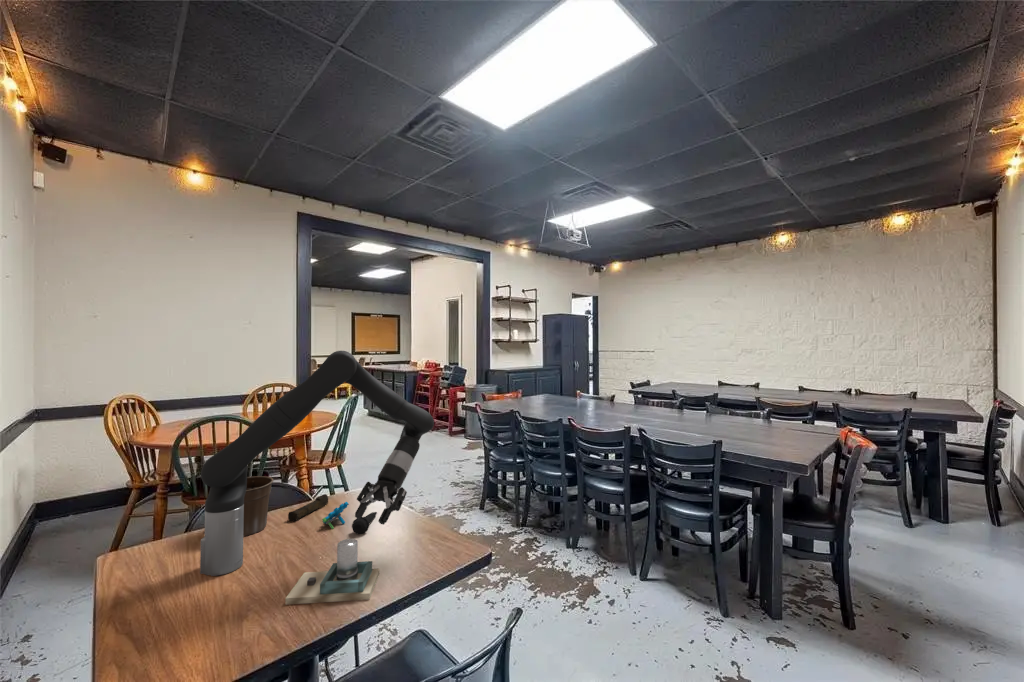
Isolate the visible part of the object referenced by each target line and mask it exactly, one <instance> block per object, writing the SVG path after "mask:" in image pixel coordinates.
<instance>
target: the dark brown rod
mask: <svg viewBox="0 0 1024 682" xmlns="http://www.w3.org/2000/svg"><path fill="white" fill-rule="evenodd" d="M328 504H329V496H328V494H326V493H325V494H321V495H319V496H317V497H315V500H313V501H312V502H309V503H307V504H304V505H303V506H300V507H299V508H296V509H295V510H292V511H289V512H288V514H287V516H288V517H287V519H288V521H289V522H291V523H292V522H293V523H294V522H295V523H296V522H297V521H299V520H300V519H301V518H303V517H304V516H306V515H309V514H311V513H313V512H314V511H316V510H321V509H323V508H325V507H326V506H328ZM325 505H326V506H325Z"/></svg>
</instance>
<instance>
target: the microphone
mask: <svg viewBox="0 0 1024 682" xmlns="http://www.w3.org/2000/svg"><path fill="white" fill-rule="evenodd" d="M377 514H378V513H377V511H373V512H370V513H369V514H367V515H365V516H362V518H361V519H357V518H356V519H354V520H353V521H352V524H351V529H352V532H353V533H354V534H356V535H363V534H365V533H366V532H367V531H368V530H369V528H370V524H371V523H372V522H373V520H375V519H376V515H377Z"/></svg>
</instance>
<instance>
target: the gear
mask: <svg viewBox="0 0 1024 682" xmlns="http://www.w3.org/2000/svg"><path fill="white" fill-rule="evenodd" d="M349 505H350V503H349V502H347V501H345V502H342V503H341V504H340V505H339V507H337V506H336V507H335V508H334V509H333V511H331V512H329V513H328V514H327V516H325V517H323V518H322V519H321V520H322V523H323V524H326V525H328V526H329V527H330V528H331V530H332V529H334V526H333V524H332V523H333V522H334V521H335V520H337V519H338V520H339V521H340V522H341V524H342V525H344V524H346V521H345V520H344V519H343V517H342V515H341V513H343V512H344V510H346V509H347V508H348V506H349Z"/></svg>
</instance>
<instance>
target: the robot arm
mask: <svg viewBox="0 0 1024 682" xmlns="http://www.w3.org/2000/svg"><path fill="white" fill-rule="evenodd" d="M344 383H345V384H348V385H350V386H351V387H354V388H355V389H356V390H357V391H359V392H360V393H361V394H363V395H364V396H365V397H366V398H367V399H368V400H369V401H370V402H371V403H372V404H373V405H375V406H376V407H377V408H378V409H380V411H382V412H384V413H385V414H386V415H388V416H389V417H390V418H392V419H393V420H395V421H404V422H405V423H404V426H403V427H402V431H401V434H400V437H399V439H398V441H397V442H396V445H395V447H394V449H393V450H392V452H391V453H390V454H389V456H388V457H387V459H386V461H385V463H384V465H383V467H382V468H381V470H380V472H379V474H378V476H377V480H376V482H375V483H371V482H370V481H367V482H366V483H365V485H364V486H363V488H362V489H361V491H360V492H359V494H358V495H357V497H356V501H358V503H359V505H358V507H357V509H356V510H355V513H354V514H355V515H354V517H355V518H356V519H361V518H362V517H364V514H365V512H366V510H367V508H368V506H370V505H371V504H374V503H376V502H383V503H385V508H384V509H383V511H382V513H381V514H380V516H379V519H378V520H377V521H378V523H379V524H380V525H385V523H387V522H388V520H389V518H390V516H391V514H392V513H393V512H394V511H396V512H399V511H400V509H401V507H402V505H403V503H404V500H405V498H406V496H407V493H408V492H407V490H406V489H405V488H404V487H402V486H403V484H404V482H405V480H406V477H407V476H408V474H409V472H410V470H411V467H412V464H413V463H414V460H415V458H416V456H417V454H418V452H419V450H420V447H421V446H420V440H421V438H422V436H423V435H425V434H427V433H429V432H431V430H432V429H434V426H435V421H434V418H433V416H432V415H431V413H430V412H428V411H427V410H425V409H424V408H422V407H421V406H418V405H415V404H413V403H412V402H408V401H407V399H404V398H403V397H402V396H401V395H399V394H398V393H397V392H396V391H394V390H393V389H391V388H390V387H388V386H387V385H386V384H384V383H383V382H381V381H380V380H378V379H377V378H376V377H375V376H373V375H372V374H371V373H370V372H369V371H367V370H366V369H365V368H364V367H363V366H362V365H361V363H359V361H358V360H357V359H356V357H354V355H353V354H352V353H351V352H349V351H346V350H336V351H333V352H332V353H331V354H329V355H328V356H327V357H326V358H325V360H324V361H323V363H321V364H320V366H319V367H318V368H317V369H316V370H315V371H314V372H313V373H312V374H311V375H310V376H308V378H307V379H306V380H304V381H303V382H301V383H299V385H297V386H295V387H294V388H292V389H290V391H288V392H286V393H285V394H283V395H282V396H280V397H279V398H278V399H277V400H276V401H275V402H274V403H273V404H271V405H270V406H268V408H266V410H265V411H263V412H262V414H260V415H259V416H258V417H257V418H256V419H255V420H254V421H253V422H252V423H251V424H249V426H248V427H247V428H246V429H245V430H244V431H243V432H242V433H241V434H240V435H239V436H238V437H237V438H236V439H234V441H231V443H230V444H228V445H227V446H225V447H224V448H223V449H221V450H219V452H217V453H214V454H213V455H211V456H210V457H209V458H208V459H207V460H206V461H205V462H204V464H203V465H202V468H201V472H200V478H201V481H202V482H203V484H205V485H206V486H207V487H210V488H209V492H208V495H207V497H206V500H205V501H204V502H205V503H204V536H203V537H202V538H201V539H200V551H199V552H200V558H199V565H200V566H199V567H200V568H199V574H200V575H201V574H204V575H205V576H208V575H211V577H213V576H215V577H216V576H223V575H226V574H229V573H232V572H234V571H236V570H238V569H240V567H242V566H243V564H244V536H243V528H244V496H245V493H246V487H247V477H248V465H249V464H250V463H251V462H252V461H253V460H254V459H256V458H257V457H258V456H259V455H260V454H261V453H263V452H265V450H267V449H268V448H270V447H271V446H273V445H274V444H276V443H277V442H278V441H279V440H281V439H282V438H283V437H286V435H288V434H289V433H290V432H291V431H292V430H294V428H296V427H297V426H298V425H299V424H300V423H301V422H302V421H303V420H304V419H305V418H307V417H308V416H309V414H311V412H313V410H314V409H315V408H316V407H317V406H318V405H319V404H320V402H321V401H322V400H323V399H325V398H326V397H327V396H329V394H330V393H331V392H333V391H334V390H336V389H337V388H338V387H340V386H341V385H343V384H344ZM394 497H395V498H394Z"/></svg>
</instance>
